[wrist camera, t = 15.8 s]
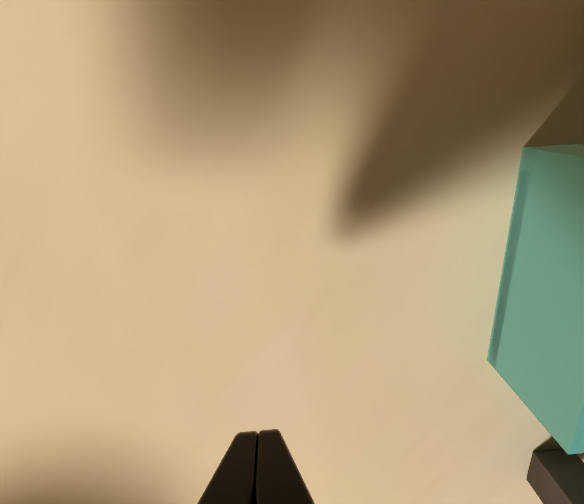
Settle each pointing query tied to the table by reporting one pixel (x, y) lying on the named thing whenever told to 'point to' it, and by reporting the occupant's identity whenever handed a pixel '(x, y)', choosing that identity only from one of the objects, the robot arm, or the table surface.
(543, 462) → the wooden step stool
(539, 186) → the tray
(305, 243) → the table surface
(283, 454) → the robot arm
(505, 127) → the table surface
